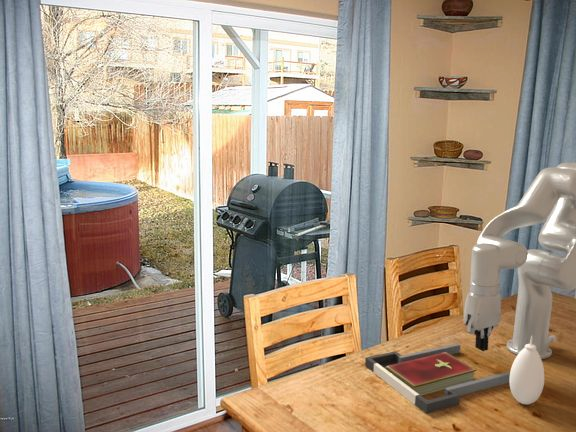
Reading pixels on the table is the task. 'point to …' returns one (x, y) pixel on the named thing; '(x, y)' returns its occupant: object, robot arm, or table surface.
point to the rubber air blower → (527, 375)
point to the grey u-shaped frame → (450, 393)
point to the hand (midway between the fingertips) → (481, 348)
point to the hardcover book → (432, 373)
